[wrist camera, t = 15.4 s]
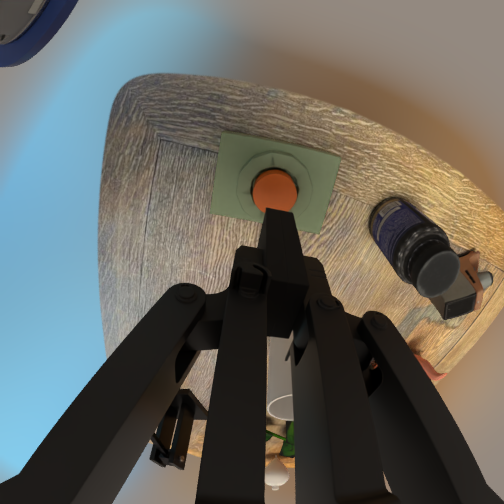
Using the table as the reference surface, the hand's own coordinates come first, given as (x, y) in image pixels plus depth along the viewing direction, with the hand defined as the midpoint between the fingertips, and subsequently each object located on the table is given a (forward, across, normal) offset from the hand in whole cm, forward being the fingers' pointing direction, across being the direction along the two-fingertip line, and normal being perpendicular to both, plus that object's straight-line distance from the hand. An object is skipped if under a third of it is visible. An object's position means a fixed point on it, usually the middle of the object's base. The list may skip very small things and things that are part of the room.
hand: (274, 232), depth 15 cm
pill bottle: (+13, +14, -2) cm, 20 cm away
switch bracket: (+13, -8, -47) cm, 49 cm away
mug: (+13, +9, -22) cm, 27 cm away
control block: (+13, 0, 0) cm, 13 cm away
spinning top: (+12, +19, -74) cm, 77 cm away
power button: (+9, 0, 0) cm, 9 cm away
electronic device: (+13, +27, -6) cm, 31 cm away
